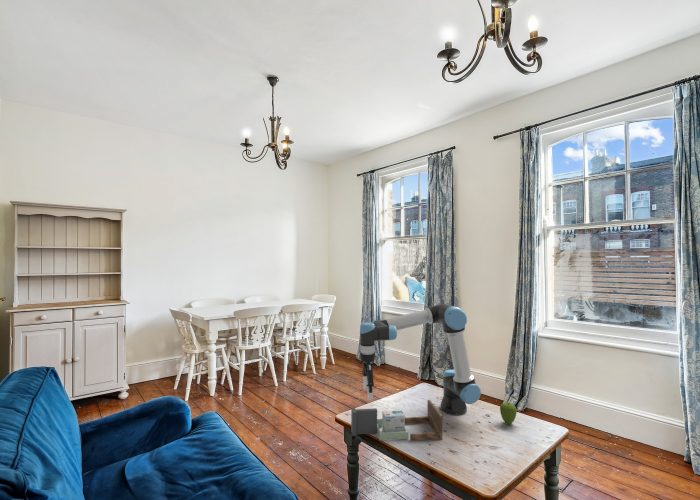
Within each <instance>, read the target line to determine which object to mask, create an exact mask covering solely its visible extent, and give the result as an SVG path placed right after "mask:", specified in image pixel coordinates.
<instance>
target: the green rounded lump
mask: <svg viewBox="0 0 700 500" xmlns="http://www.w3.org/2000/svg"><path fill="white" fill-rule="evenodd" d="M517 409H518V408H517V407H516V406H515V404H513V403H511V402H508V401H507V402H502V403H501V404H500V407H499V410H500V415H501V418H502V420H503V422H504V423H505V424H506V423H507V424H506V425H511V424H513V422H515V419H516V416H517V413H518V411H517Z"/></svg>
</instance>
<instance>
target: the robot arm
mask: <svg viewBox="0 0 700 500" xmlns="http://www.w3.org/2000/svg"><path fill="white" fill-rule="evenodd" d="M467 323H468V317H467V314H466V312H464V310H463V309H462V308H460V307H458V306H454V305H450V304H448V303H440V304H435V305H432V306H428V307H425V308H424V309H422V310H420V311H414V312H411V313H407V314H403V315H398V316H394V317H390V318H385V319H382V320H379V319H378V320H377V319H376V320H375V319H374V320H373V321H370V322H362V323H361V324H360V327H359V335H360V336H359V338H360V340H359V341H360V346H359V347H358V348H359V350H360V357H359V358H360V361H361V362H362V370H361V371H362V372H361V374H362V382H363V383H362V385H363V386H362V389H363V390H366V389H367V399H368V400H373V399H374V386H375V385H374V373H373V365H372V363H373V362H374V361H375V360H376V358H375V357H376V356H375V354H376V353H375V352H376V351H375V350H376V348H375V347H376V345H375V344H376V343H375V342H380V341H394V340H396V339H397V336H398V331H401V330H405V329H408V328H409V329H410V328H412V327H417V326H421V325H425V324H429V325H433V324H441V325H442V329H443V333H444V334H446V335H447V339H448V345H449V351H450V356H451V360H452V366H453V369H445V371H443V378H442V379H443V380H442V381H443V395H442V398H441V401H440V404H439V405H440V407H439V408H440V410H441V411H442V412H444V413H445V414H449V415H452V416H460V415H465V414H466V413H467V412H468V411H467V410H468V409H467V408H468V406H467V405H473V404H475V403H476V402H477V401H478V400H479V399H480V397H481V395H482V392H481V390H482V389H481V388H480V386H479V385H478V384H476V379H475V375H474V374H473V373H471V368H470V363H469V358H468V351H467V347H466V342H465V336H464V332H465V330H466V324H467Z"/></svg>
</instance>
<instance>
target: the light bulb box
mask: <svg viewBox="0 0 700 500" xmlns="http://www.w3.org/2000/svg"><path fill="white" fill-rule="evenodd" d="M381 413H382V418H381V419H382V424H383V426H382V432H401V431H405V427H406V424H405V417H406V415H405V414H404V412H403V410H402V409H395V410H382V412H381Z"/></svg>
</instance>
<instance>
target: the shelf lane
mask: <svg viewBox="0 0 700 500" xmlns="http://www.w3.org/2000/svg"><path fill="white" fill-rule="evenodd" d="M438 409H439V408H437V407H436V405H434V403H433V402H432V401H431V400H430V399H427V416H408V417H407V416H405V425H408V424H409V425H410V424H429V426H430V427H431V429H432V430H433V431H434V432H419V433H418V432H415V433H410V434H409V437H410V438H409V439H410V442H416V441H417V442H419V441H433V440H435V441H436V440H439V441H440V440H443V430H444V429H443V423H444V422H443V417H444V416H443V414H442V413H441V412H440V411H439V410H438Z"/></svg>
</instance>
